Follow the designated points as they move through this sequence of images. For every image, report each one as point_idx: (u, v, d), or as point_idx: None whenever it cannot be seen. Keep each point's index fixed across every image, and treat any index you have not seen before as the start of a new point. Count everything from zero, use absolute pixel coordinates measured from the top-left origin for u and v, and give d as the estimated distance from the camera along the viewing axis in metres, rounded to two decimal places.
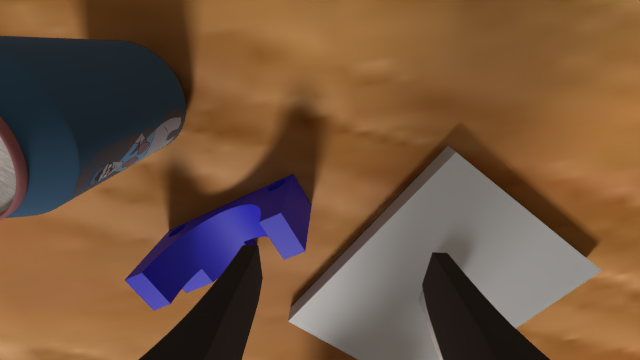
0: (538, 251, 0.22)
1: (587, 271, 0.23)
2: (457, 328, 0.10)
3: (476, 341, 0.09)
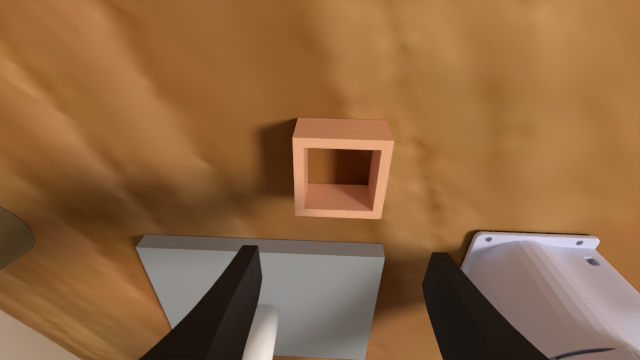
0: (174, 289, 0.27)
1: (146, 254, 0.24)
2: (457, 328, 0.10)
3: (476, 341, 0.09)
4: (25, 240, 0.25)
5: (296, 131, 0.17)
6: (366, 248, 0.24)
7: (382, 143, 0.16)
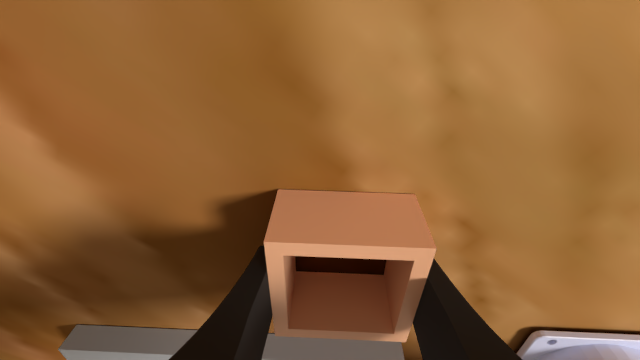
0: None
1: (75, 356, 0.17)
2: (435, 327, 0.10)
3: (451, 340, 0.09)
4: None
5: (272, 224, 0.10)
6: (379, 348, 0.17)
7: (416, 251, 0.10)
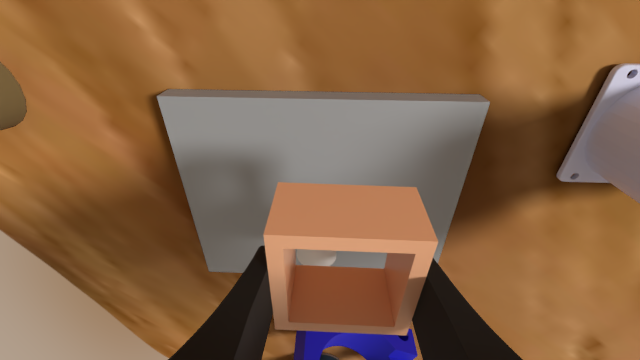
0: (203, 170, 0.21)
1: (171, 108, 0.18)
2: (435, 327, 0.10)
3: (451, 340, 0.09)
4: (14, 99, 0.19)
5: (272, 217, 0.10)
6: (461, 97, 0.18)
7: (417, 244, 0.10)
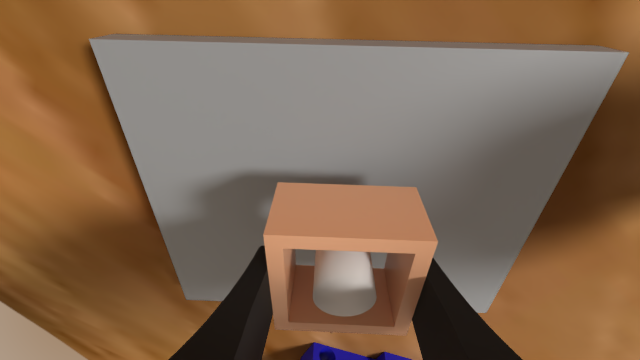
0: (171, 160, 0.14)
1: (114, 61, 0.12)
2: (435, 328, 0.10)
3: (451, 340, 0.09)
4: None
5: (271, 217, 0.10)
6: (574, 47, 0.11)
7: (417, 244, 0.10)
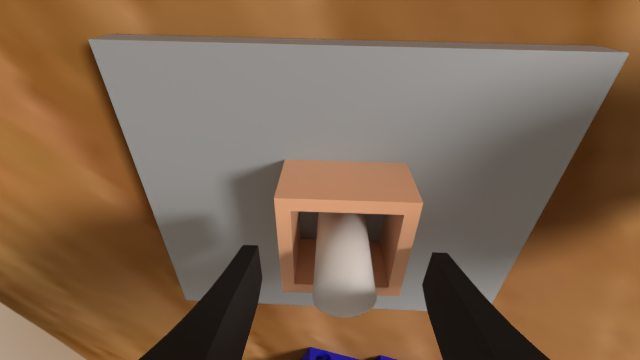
0: (171, 161, 0.14)
1: (113, 61, 0.12)
2: (457, 328, 0.10)
3: (476, 341, 0.09)
4: None
5: (280, 185, 0.12)
6: (575, 47, 0.11)
7: (405, 206, 0.11)
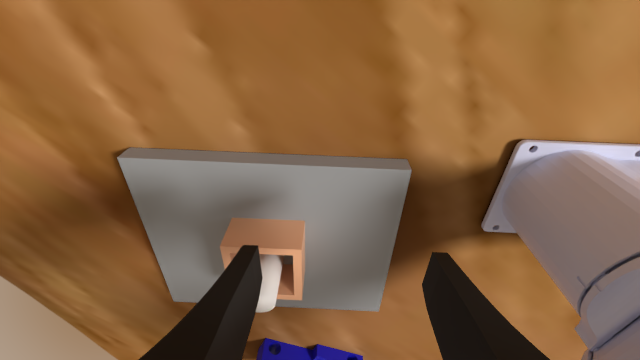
0: (163, 217, 0.23)
1: (130, 167, 0.20)
2: (457, 329, 0.10)
3: (476, 341, 0.09)
4: None
5: (225, 237, 0.21)
6: (389, 162, 0.21)
7: (292, 251, 0.20)
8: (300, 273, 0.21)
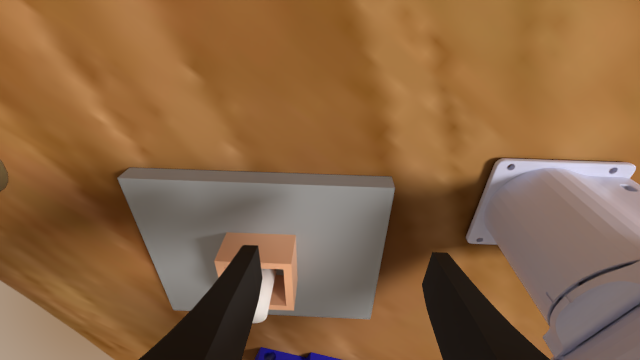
0: (161, 232, 0.24)
1: (130, 187, 0.22)
2: (457, 328, 0.10)
3: (476, 341, 0.09)
4: None
5: (219, 252, 0.22)
6: (374, 180, 0.22)
7: (282, 265, 0.21)
8: (291, 285, 0.23)
